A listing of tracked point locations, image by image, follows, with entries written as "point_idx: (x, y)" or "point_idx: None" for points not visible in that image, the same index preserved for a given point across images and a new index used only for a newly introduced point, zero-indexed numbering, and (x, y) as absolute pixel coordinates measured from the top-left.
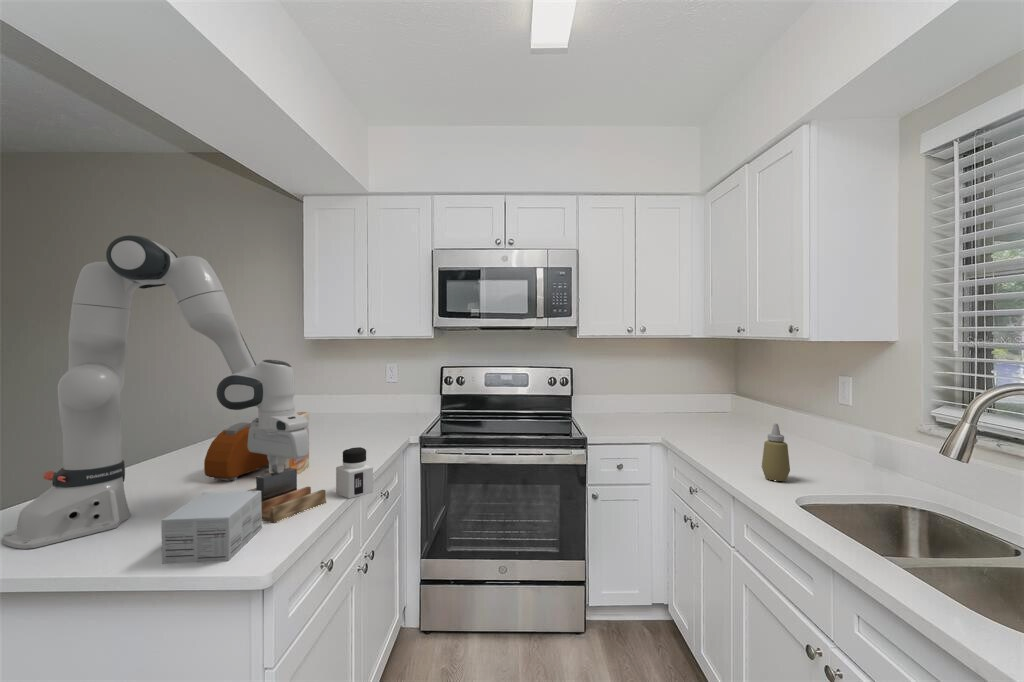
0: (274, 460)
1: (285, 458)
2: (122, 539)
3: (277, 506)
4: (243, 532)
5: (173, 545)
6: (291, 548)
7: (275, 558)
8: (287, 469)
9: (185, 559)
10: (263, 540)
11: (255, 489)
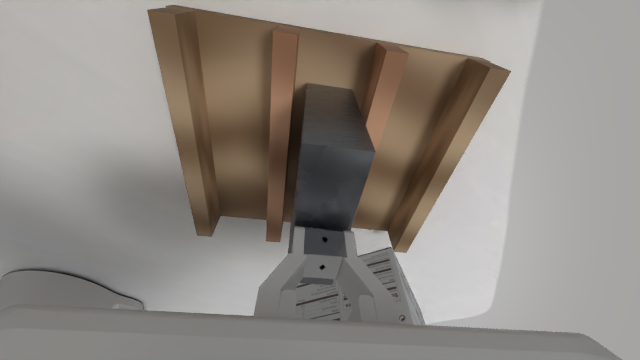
0: (291, 285)
1: (390, 307)
2: (208, 312)
3: (407, 242)
4: (419, 313)
5: None
6: (496, 276)
7: (484, 295)
8: (323, 176)
9: None
10: (430, 271)
11: (198, 163)
